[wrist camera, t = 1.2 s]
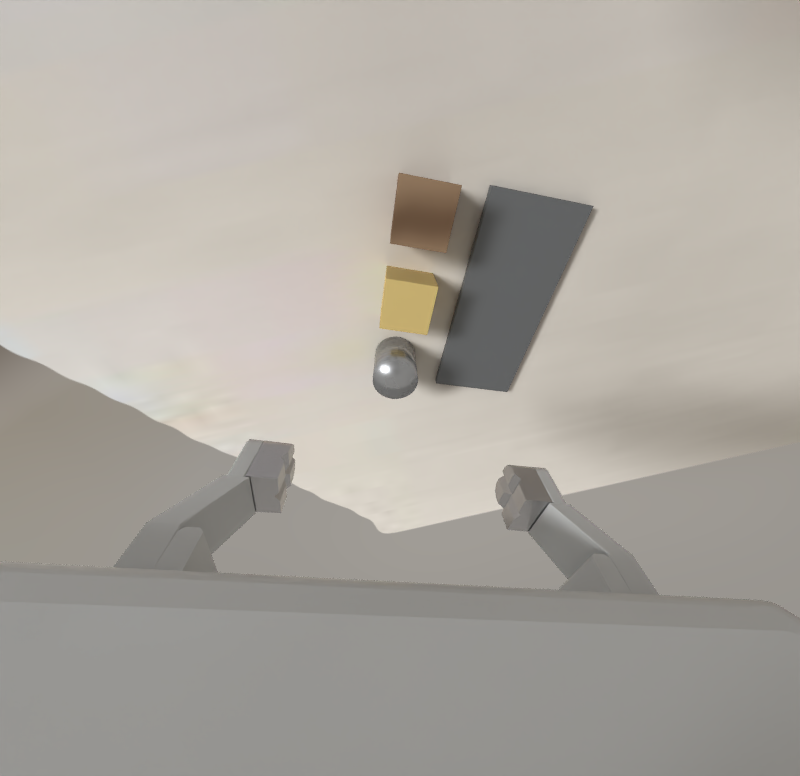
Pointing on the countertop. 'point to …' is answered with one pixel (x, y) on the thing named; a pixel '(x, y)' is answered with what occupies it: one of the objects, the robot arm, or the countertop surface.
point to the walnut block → (424, 212)
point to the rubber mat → (508, 285)
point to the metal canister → (395, 368)
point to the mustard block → (408, 300)
